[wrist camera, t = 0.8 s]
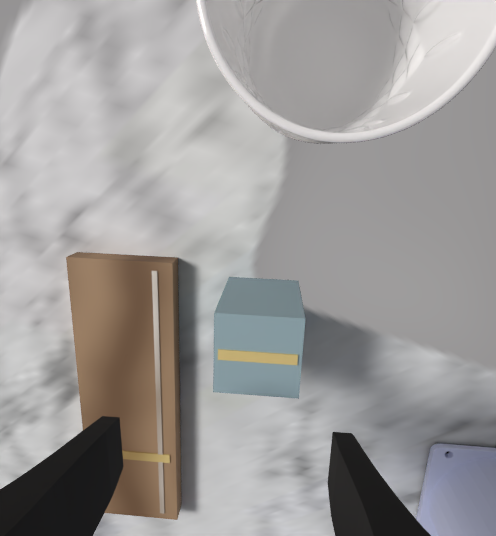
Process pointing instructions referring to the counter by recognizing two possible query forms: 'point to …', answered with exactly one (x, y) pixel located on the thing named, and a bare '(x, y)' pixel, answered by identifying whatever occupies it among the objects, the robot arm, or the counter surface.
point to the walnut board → (132, 370)
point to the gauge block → (259, 338)
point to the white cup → (347, 60)
